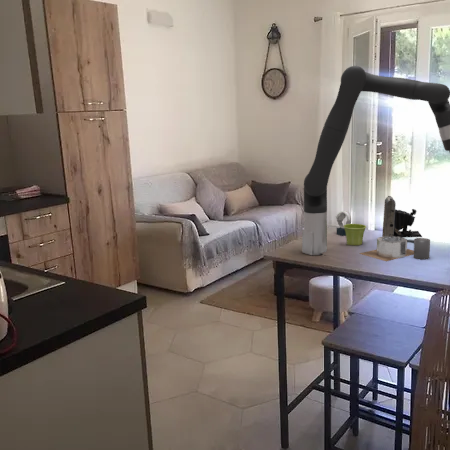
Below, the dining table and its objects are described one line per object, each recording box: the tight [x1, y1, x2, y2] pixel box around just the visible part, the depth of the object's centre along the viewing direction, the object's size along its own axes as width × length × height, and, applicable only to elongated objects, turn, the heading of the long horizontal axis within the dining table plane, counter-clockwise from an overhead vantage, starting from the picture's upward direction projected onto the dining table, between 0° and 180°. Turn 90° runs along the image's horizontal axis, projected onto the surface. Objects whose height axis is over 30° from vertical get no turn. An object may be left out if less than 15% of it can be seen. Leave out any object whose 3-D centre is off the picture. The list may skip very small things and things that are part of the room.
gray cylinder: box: [413, 237, 431, 261], centre depth 189 cm, size 6×6×8 cm
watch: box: [335, 210, 352, 237], centre depth 234 cm, size 6×8×11 cm
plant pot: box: [343, 223, 367, 246], centre depth 213 cm, size 9×9×9 cm
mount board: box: [358, 248, 414, 262], centre depth 198 cm, size 20×14×1 cm
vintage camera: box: [381, 195, 423, 238], centre depth 215 cm, size 10×16×20 cm, turn 79°
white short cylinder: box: [376, 236, 408, 259], centre depth 195 cm, size 11×11×6 cm
